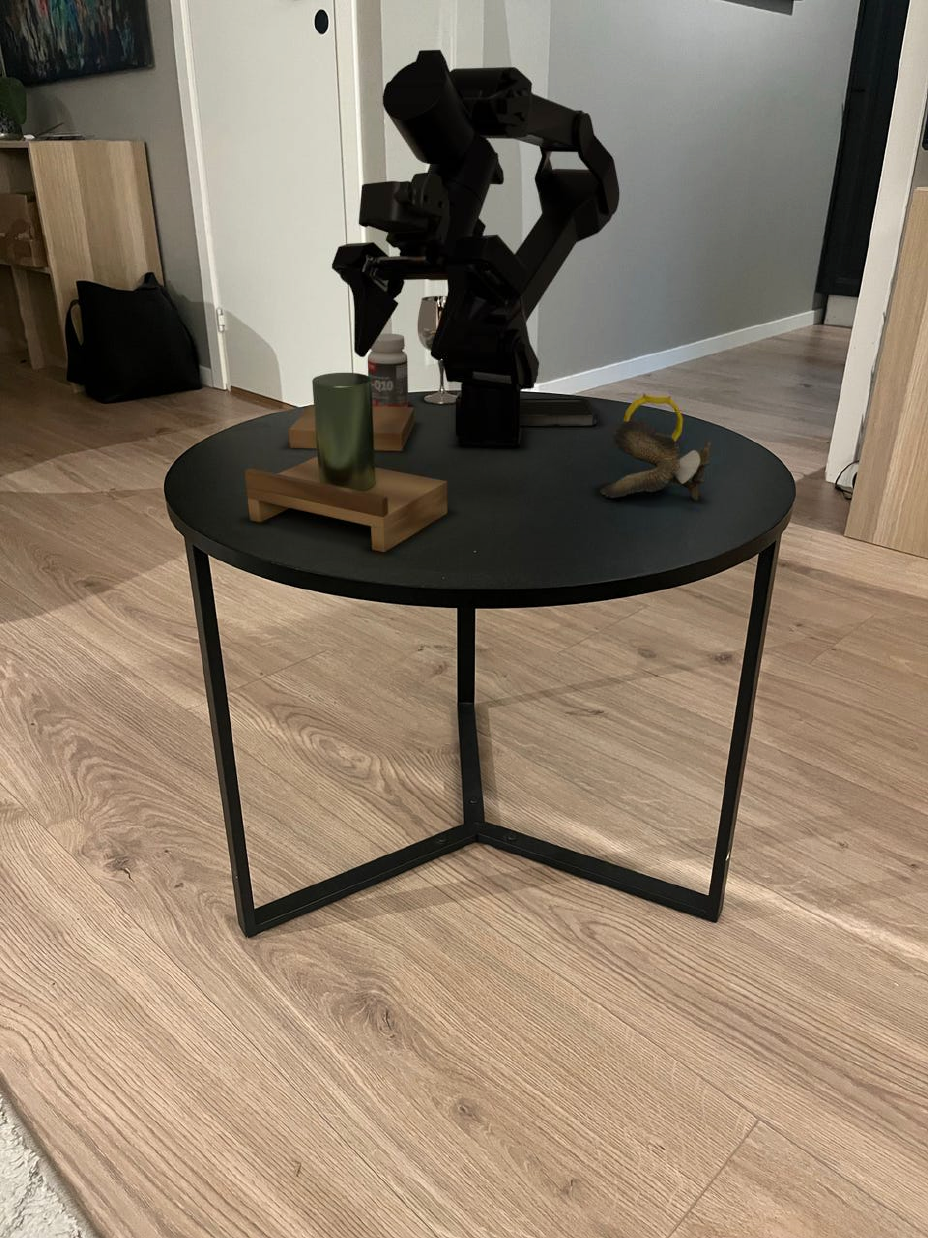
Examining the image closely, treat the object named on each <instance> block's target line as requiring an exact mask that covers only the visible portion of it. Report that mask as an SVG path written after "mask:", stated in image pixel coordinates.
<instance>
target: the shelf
mask: <svg viewBox="0 0 928 1238" xmlns="http://www.w3.org/2000/svg"><path fill="white" fill-rule="evenodd" d="M375 477H376V483H375V486H374V487H372V488H371V489H369V490H366V491H357V490H353V489H348V488H343V487H338V486H334V485H329V484H324V483H319V470H318V456H315V457H313V458H310V459H309V460H306V461H304V462H302V463H299V464H297V465H295V466H292V467H290V468H288V469H286V470H283V471H281V472H278V473H276V472H271V471H267V470H262V469H258V468H257V469H256V468H252V467H249V468H247V469H245V470H244V478H245V486H246V495H247V504H248V506H247V507H248V514H249V520H250V521H251V522H256V523H262V522H265V521H266V520H269V519H271V518H273V517H275V516H277V515H279V514H281V513H283V512H285V511H287V510H290V509H293V510H298V511H303V512H307V513H310V514H315V515H319V516H323V517H329V518H333V519H337V520H341V521H346V522H349V523H350V522H351V523H355V524H359V525H363V526H369V527H370V532H371V549H372V550H373V551H377V552H381V553H385V552H387V551H389V550H391V549H392V548H394V547H395V546H397V545H399V544H400V543H402V542H404V541H405V540H407V539H409V538H410V537H411V536H413V535H415V534H416V533H418V532H419V531H421V530H423V529H425V528H426V527H428V526H430V525H431V524H433V523H434V522H436V521H437V520H439V519H441V518H442V517H444V516H446V515H448V481H447V480H442V479H438V478H432V477H427V476H420V475H417V474H411V473H407V472H401V471H396V470H390V469H386V468H382V467H376V466H375Z"/></svg>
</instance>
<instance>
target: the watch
mask: <svg viewBox="0 0 928 1238" xmlns="http://www.w3.org/2000/svg"><path fill="white" fill-rule="evenodd" d="M671 396H672V395H671V394H670V393H669V392H667V391H662V390H646V391H643V395H642V396H641V397H639V398H636V399H635V400H634V401H632V403H631V404H630V405H629V406H628V408H627V409H626V411H625V413H624V417H623V421H622V423H623V422H624V421H629V420H630V421H631V416H632V415H633V414H634V412H635V411H636V410H638V408H639V407H640V406H642V405H645V404H646V403H651V404H658V405H660V404H661V405H662V404H668V405H669V406H671V408H672V409H673V410H674V413H675V415H676V425H675V429H674V430H673V432H672V433H671V435H670V436H671V437H672V439H674V441H675V442H676V443H677V440H678V439H679V437H680V436H681V434H682V432H683V423H684V419H683V415H682V413H681V410H680V407H679V406H678V405H677V404H676V402H675V401H674V400H672V399H671Z"/></svg>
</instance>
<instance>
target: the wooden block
mask: <svg viewBox="0 0 928 1238" xmlns="http://www.w3.org/2000/svg"><path fill="white" fill-rule="evenodd" d="M414 425H415V407H414V406H411V407H410V406H408V407H377V406H373V429H374V451H384V452H385V451H387V452H389V451H390V452H403V450H404V448H405V445H406V443H407V441H408V439H409V437H410V435H411V433H412V430H413V429H414ZM288 441H289V449H313V450H314V449H315V450H317V441H316V427H315V413H314V404H309V405H308V406H307V407H306V409H305V410H303V412H302V413H301V414H300V416H299V417H298V418H297V419H296V420H295V421H294V422H293V424H292V425H291V426H290V427H289V428H288Z"/></svg>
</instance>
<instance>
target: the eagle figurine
mask: <svg viewBox="0 0 928 1238" xmlns="http://www.w3.org/2000/svg"><path fill="white" fill-rule="evenodd" d="M614 431H615V432H614V433H613V434H612V438H613V439H614V440H613V441H614V443H615V444H616V445H617V448H618V449H619V450H620V451H622V452H624V453H626V454H628V455H630V456H631V457H633V458H635V459H637V460H638V461H641V462H644V463H648V464H650V465H652V466H654V467H655V468H652V469H648V470H644V471H638V472H634V473H630V474H627V475H624V476H623V477H622V478H620V479H619V480H618V481H616V482H613V483H611V484H608V485H606V487H602V488H601V490H599V492H600V493H601V495H603V496H605V497H606V498H607V497H609V498H610V499H614V498H621V497H626V496H627V495H633V494H635V493H640V492H645V491H646V492H650V493H653V492H657V491H660V490H664V488H666V487H667V484H668V483H675V484H677V485H680V486H682V487H683V488H686V489H687V490H688V491H689V492H690V494H691V498H692V499H693V500H694V501H695V502H697V501H698V500H699V488H700V485H701V484H704V483H705V480H704V478H703V475H704V472H705V469H706V466H708V465H710V464H711V461H708V459H709V455H710V451H711V447H712V441H708V442H707V443H706V446H705V447H704V448H703V447H699V449H698V451H697V450H696V449H692V450H691V451H689V452H688V453H686V454H685V455H683V456H681V457H680V453H681V450H680V449H681V448H680V446H679V445H678V443H677V441H676V442H675V441H674V439H672V437H671V435H669V434H668V435H667V434H664V433H661V432H659V430H658V429H656V428H653V427H652V426H651V425H649V424H648V422H647V421H646V420H642V419H639V420H638V419H632V420H631V419H630V420H629V421H624V422H623V421H622V423H620V424H619V425H618V427H616V428H615V430H614ZM690 479H691V482H690V481H689V480H690Z"/></svg>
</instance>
